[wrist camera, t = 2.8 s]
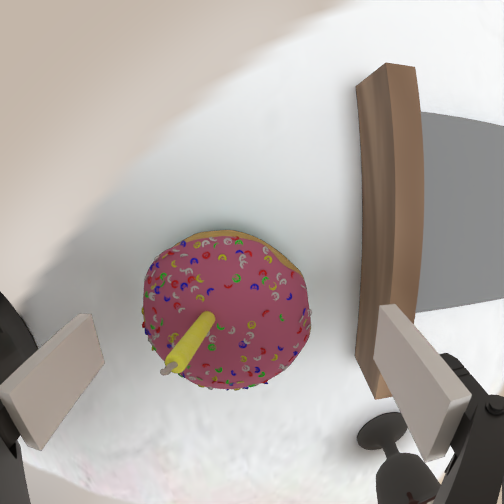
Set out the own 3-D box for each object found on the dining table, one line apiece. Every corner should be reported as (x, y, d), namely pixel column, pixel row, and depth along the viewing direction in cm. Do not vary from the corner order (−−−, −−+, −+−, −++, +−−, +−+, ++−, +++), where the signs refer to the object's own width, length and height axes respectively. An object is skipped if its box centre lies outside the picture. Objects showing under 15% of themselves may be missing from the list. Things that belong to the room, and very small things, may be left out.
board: (389, 309, 20) (395, 315, 19) (392, 111, 17) (398, 109, 16) (515, 290, 20) (522, 294, 19) (525, 134, 17) (533, 133, 16)
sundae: (413, 392, 22) (489, 531, 8) (417, 436, 24) (472, 554, 9) (340, 422, 23) (381, 580, 8) (354, 462, 24) (387, 590, 10)
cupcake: (142, 255, 20) (28, 352, 8) (262, 191, 18) (268, 228, 7) (208, 360, 21) (174, 505, 10) (321, 311, 20) (376, 452, 9)
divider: (354, 356, 21) (374, 399, 16) (355, 86, 17) (385, 62, 12) (375, 353, 21) (399, 395, 16) (379, 88, 17) (415, 67, 12)
